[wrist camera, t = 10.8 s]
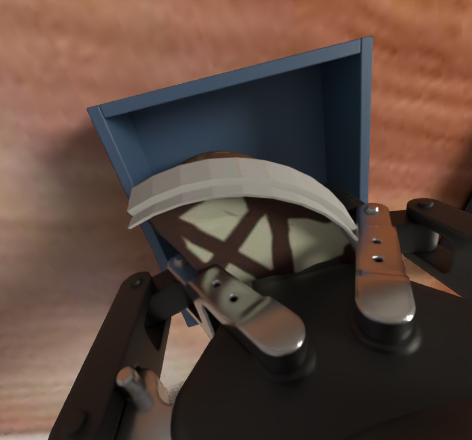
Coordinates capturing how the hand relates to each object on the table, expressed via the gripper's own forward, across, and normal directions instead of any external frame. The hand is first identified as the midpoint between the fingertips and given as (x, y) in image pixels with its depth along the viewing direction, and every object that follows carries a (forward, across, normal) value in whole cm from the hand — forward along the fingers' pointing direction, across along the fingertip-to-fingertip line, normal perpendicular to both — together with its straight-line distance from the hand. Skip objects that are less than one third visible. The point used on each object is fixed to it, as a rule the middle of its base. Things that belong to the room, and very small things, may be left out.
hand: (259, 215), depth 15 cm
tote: (+5, 0, 0) cm, 5 cm away
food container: (+4, 0, 0) cm, 4 cm away
